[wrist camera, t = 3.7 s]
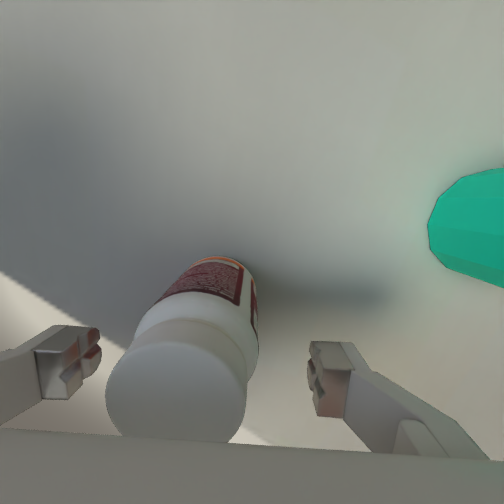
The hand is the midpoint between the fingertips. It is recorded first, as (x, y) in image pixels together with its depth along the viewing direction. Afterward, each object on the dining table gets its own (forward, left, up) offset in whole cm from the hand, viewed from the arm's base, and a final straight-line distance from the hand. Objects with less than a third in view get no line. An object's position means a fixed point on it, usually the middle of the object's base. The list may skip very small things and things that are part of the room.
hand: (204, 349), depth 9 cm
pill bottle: (0, 0, -6) cm, 6 cm away
